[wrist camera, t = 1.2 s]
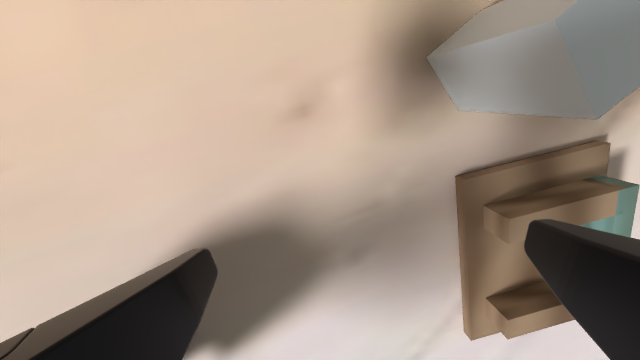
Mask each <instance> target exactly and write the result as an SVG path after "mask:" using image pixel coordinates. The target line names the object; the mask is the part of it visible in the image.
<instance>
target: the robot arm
mask: <svg viewBox="0 0 640 360" xmlns="http://www.w3.org/2000/svg"><path fill="white" fill-rule="evenodd" d="M524 249H525V252H526V255H527V256H528V258H529V259H530V260H531V262H532V263H533V265H534V266H535V267H536V269H537V270H538V272H539V273H540V274H541V276H542V277H543V279H544V280H545V282H546V283H547V284H548V286H549V287H550V289H551V290H552V291H553V293H554V294H555V295H556V297H557V298H558V299H559V301H560V302H561V303H562V304H563V306H564V307H565V308H566V309H567V310H568V312H569V313H570V314H571V315H572V316H573V317H574V319H575V320H576V321H577V322H578V323H579V324H580V325H581V327H582V328H583V329H584V330H585V331H586V332H587V333H588V335H589V336H590V337H591V338H592V339H593V340H594V342H595V343H596V344H597V345H598V346H599V347H600V348H601V350H602V351H603V352H604V353H605V354H606V355H607V356H608V358H609V359H610V360H640V240H639V239H635V238H630V237H626V236H622V235H617V234H613V233H609V232H604V231H600V230H596V229H592V228H587V227H583V226H579V225H574V224H570V223H566V222H561V221H557V220H553V219H538V220H532V221H531V222H530V223H529V226H528V230H527V234H526V238H525V242H524ZM216 278H217V267H216V265H215V262H214V260H213V258H212V255H211V253H210V251H209V250H208V249H207V248H200V249H193V250H191V251H189V252H187V253H185V254H183V255H181V256H179V257H177V258H175V259H173V260H171V261H168V262H166V263H164V264H162V265H160V266H158V267H156V268H154V269H152V270H150V271H148V272H146V273H144V274H142V275H140V276H138V277H136V278H134V279H132V280H130V281H128V282H126V283H124V284H121V285H119V286H117V287H115V288H113V289H111V290H109V291H107V292H105V293H103V294H101V295H99V296H97V297H95V298H93V299H91V300H89V301H87V302H85V303H83V304H81V305H79V306H77V307H75V308H72V309H70V310H68V311H66V312H64V313H62V314H60V315H58V316H56V317H54V318H52V319H50V320H48V321H46V322H44V323H42V324H40V325H38V326H37V327H36V328H30V329H28V330H26V331H24V332H22V333H20V334H18V335H16V336H14V337H12V338H10V339H8V340H6V341H4V342H2V343H0V360H182V358H183V356H184V354H185V352H186V350H187V348H188V346H189V344H190V342H191V340H192V338H193V336H194V334H195V332H196V330H197V327H198V325H199V323H200V321H201V318H202V316H203V313H204V311H205V308H206V305H207V303H208V300H209V297H210V294H211V292H212V289H213V286H214V283H215V281H216Z"/></svg>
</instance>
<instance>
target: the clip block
mask: <svg viewBox="0 0 640 360" xmlns="http://www.w3.org/2000/svg"><path fill="white" fill-rule="evenodd" d="M426 59H427V60H428V62H429V64H430V65H431V67H432V69H433V70H434V72H435V73H436V75H437V77H438V78H439V80H440V82H441V83H442V85H443V86H444V88H445V90H446V91H447V93H448V95H449V96H450V98H451V99H452V101H453V103H454V104H455V106H456V108H457V109H458V111H474V112H490V113H505V114H521V115H536V116H552V117H567V118H583V119H598V118H599V117H601V116H602V115H603V114H605V113H606V112H607V111H608V110H610V109H611V108H612V107H614V106H615V105H616V104H617V103H619V102H620V101H621V100H623V99H624V98H625V97H626V96H628V95H629V94H630V93H632V92H633V91H634V90H635V89H637V88H638V87H639V86H640V0H503V1H500V2H498V3H496V4H494V5H492V6H489V7H487V8H485V9H483V10H481V11H479V12H478V13H477V14H476V15H475V16H474V17H472V18H471V19H470V20H469V21H468V22H467V23H465V24H464V25H463V26H462V27H461V28H460V29H459V30H457V31H456V32H455V33H454V34H453V35H452V36H450V37H449V38H448V39H447V40H446V41H445V42H444V43H442V44H441V45H440V46H439V47H438V48H437V49H435V50H434V51H433V52H432V53H431V54H430V55H428V56H427V57H426Z"/></svg>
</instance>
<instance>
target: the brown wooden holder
mask: <svg viewBox="0 0 640 360" xmlns="http://www.w3.org/2000/svg"><path fill="white" fill-rule="evenodd" d="M609 151H610V143H606V142H599V141H595V142H591V143H587V144H583V145H579V146H575V147H571V148H567V149H563V150H559V151H555V152H551V153H547V154H543V155H539V156H535V157H531V158H527V159H523V160H519V161H515V162H511V163H507V164H503V165H499V166H495V167H491V168H487V169H483V170H479V171H475V172H471V173H467V174H463V175H459V176H455V178H456V196H457V214H458V232H459V250H460V267H461V285H462V303H463V321H464V332H465V334H466V335H467V336H468V337H469V339H470V340H471V341H472V340H475V339H479V338H482V337H486V336H489V335H492V334H496V333H499V332H502V334H503V335H504V336H505V337H506V338H507V339H510V338H514V337H517V336H521V335H524V334H527V333H531V332H534V331H538V330H541V329H544V328H548V327H551V326H555V325H558V324H562V323H565V322H568V321H572V320H575V319H574V317H573V316H572V315H571V314H570V313H569V312H568V310H567V309H566V308H565V307H564V306H563V304H562V303H561V302H560V301H559V299H558V298H557V297H556V295H555V294H554V293H553V291H552V290H551V289H550V287H549V286H548V284H547V283H546V282H545V280H544V279H543V277H542V276H541V274H540V273H539V272H538V270H537V269H536V267H535V266H534V265H533V263H532V262H531V260H530V259H529V258H528V256H527V255H526V252H525V249H524V242H525V238H526V234H527V230H528V226H529V223H530V222H531V221H532V220H538V219H553V220H557V221H561V222H566V223H570V224H574V225H579V226H583V227H587V228H592V229H596V230H600V231H604V232H609V233H613V234H617V235H622V236H626V237H630V236H631V231H632V225H633V219H634V213H635V208H636V202H637V196H638V190H639V185H638V184H634V183H629V182H625V181H621V180H617V179H613V178H609V177H606V174H607V166H608V158H609Z"/></svg>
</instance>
